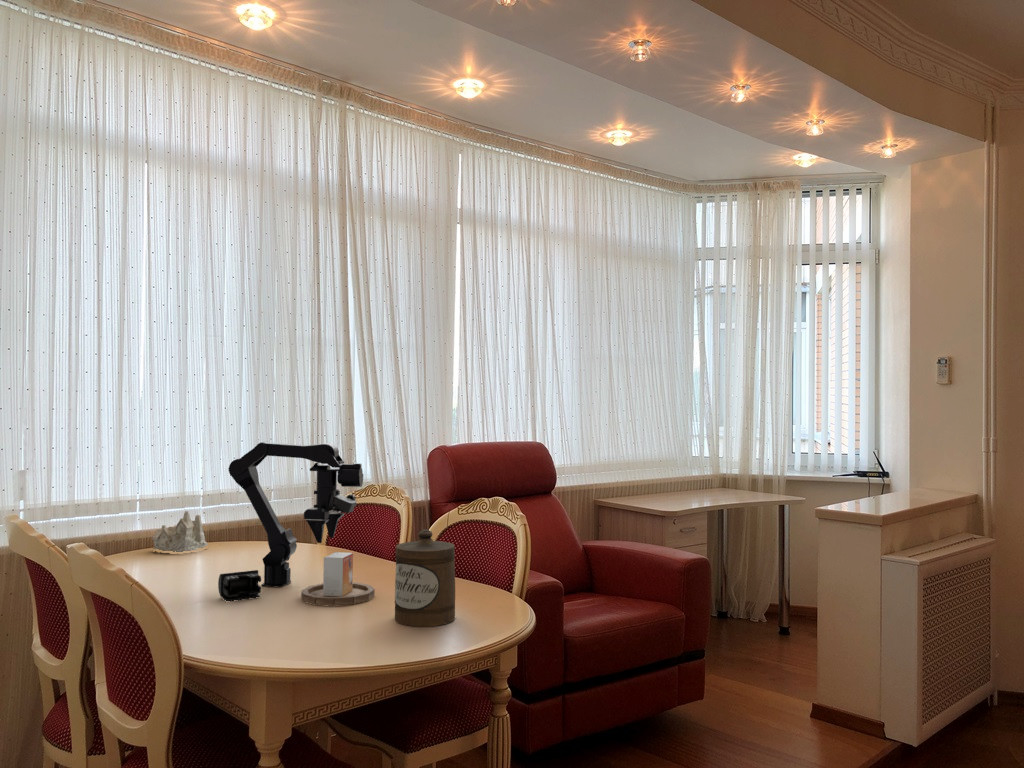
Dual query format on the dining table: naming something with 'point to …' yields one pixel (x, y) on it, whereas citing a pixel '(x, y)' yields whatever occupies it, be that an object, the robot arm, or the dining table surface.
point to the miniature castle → (181, 535)
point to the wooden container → (425, 582)
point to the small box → (338, 574)
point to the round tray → (355, 596)
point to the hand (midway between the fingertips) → (325, 540)
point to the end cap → (239, 585)
